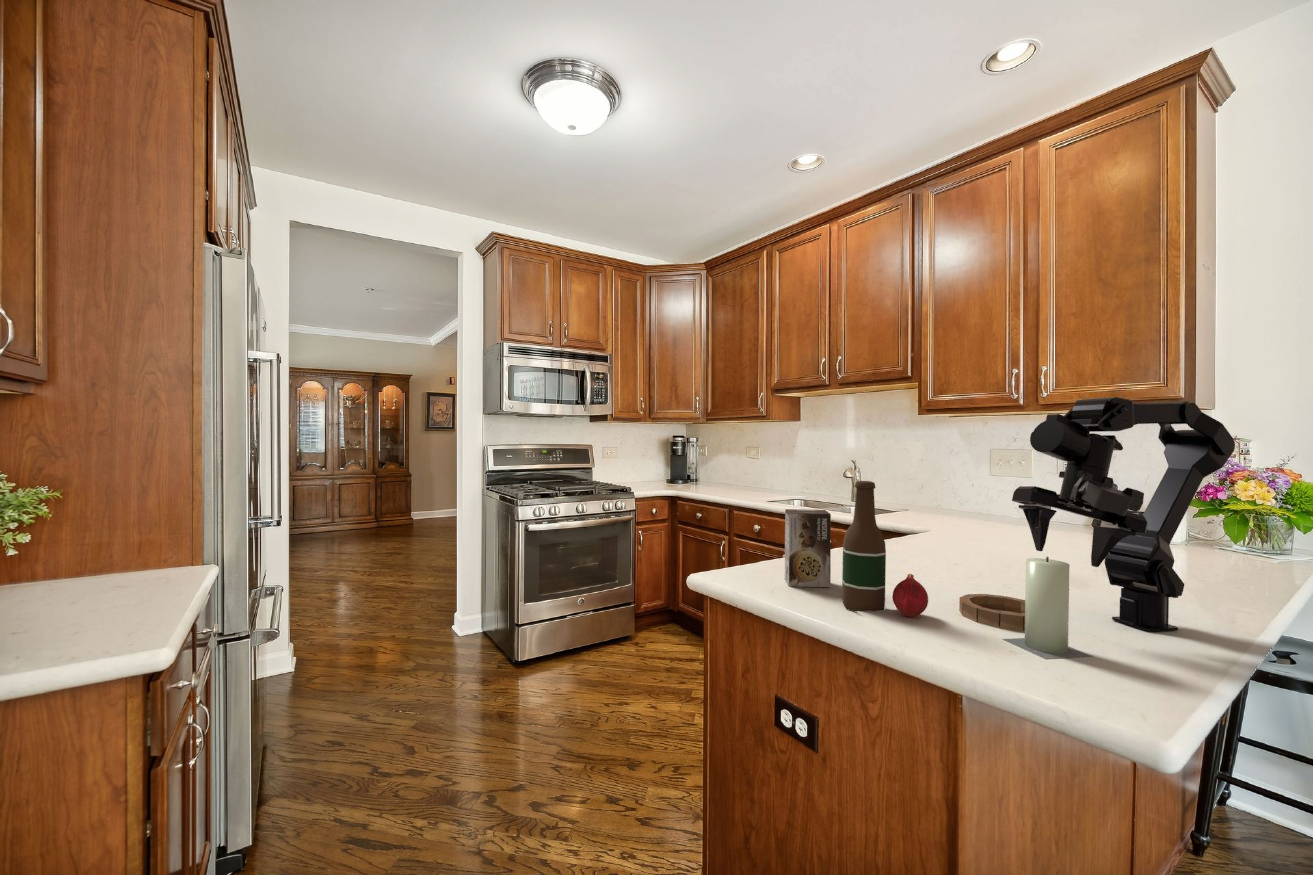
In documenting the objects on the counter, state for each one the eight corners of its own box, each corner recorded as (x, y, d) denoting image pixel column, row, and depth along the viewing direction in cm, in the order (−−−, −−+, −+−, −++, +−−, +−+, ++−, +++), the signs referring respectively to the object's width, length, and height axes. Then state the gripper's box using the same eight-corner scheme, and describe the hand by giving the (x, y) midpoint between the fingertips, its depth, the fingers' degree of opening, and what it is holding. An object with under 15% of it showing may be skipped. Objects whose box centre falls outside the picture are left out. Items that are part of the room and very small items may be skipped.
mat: (1045, 640, 88) (1045, 636, 88) (1093, 660, 80) (1093, 656, 80) (1002, 642, 87) (1002, 639, 87) (1045, 663, 79) (1045, 659, 79)
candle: (1045, 640, 87) (1047, 552, 87) (1077, 653, 81) (1078, 560, 82) (1016, 641, 86) (1017, 553, 86) (1045, 655, 81) (1047, 561, 81)
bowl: (1005, 608, 105) (1005, 593, 105) (1066, 632, 92) (1066, 614, 92) (944, 611, 103) (944, 595, 103) (998, 635, 90) (998, 617, 90)
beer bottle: (888, 606, 105) (890, 481, 105) (880, 617, 99) (883, 483, 99) (846, 599, 109) (848, 479, 110) (836, 609, 103) (838, 481, 103)
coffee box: (824, 580, 124) (825, 509, 124) (831, 588, 118) (832, 513, 118) (783, 579, 125) (784, 508, 125) (787, 586, 118) (789, 511, 119)
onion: (932, 625, 95) (932, 579, 95) (896, 622, 96) (897, 576, 96) (922, 615, 100) (923, 571, 100) (889, 612, 101) (889, 569, 101)
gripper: (1063, 451, 86) (1041, 548, 85) (1186, 484, 85) (1166, 583, 83) (1020, 455, 97) (1000, 541, 96) (1128, 484, 96) (1109, 572, 94)
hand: (1066, 558), depth 92 cm, fingers open, 9 cm apart
